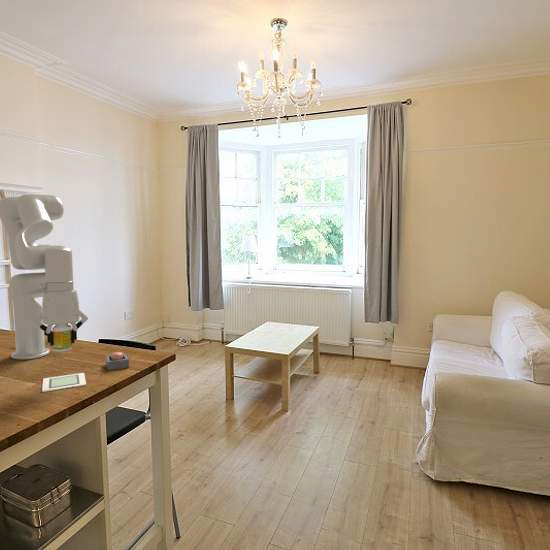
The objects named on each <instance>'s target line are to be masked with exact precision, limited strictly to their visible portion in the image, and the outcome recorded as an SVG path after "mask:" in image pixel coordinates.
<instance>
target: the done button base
mask: <svg viewBox="0 0 550 550" xmlns="http://www.w3.org/2000/svg"><path fill="white" fill-rule="evenodd" d="M105 366H106V368H107V369H106V370H107V371H113V369H115V370H120V369H119V368H122V369H128V368H130V359H129V357H128V355H127V353H123V359H121V360H113V361H111V355H106V356H105Z"/></svg>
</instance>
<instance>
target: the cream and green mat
mask: <svg viewBox="0 0 550 550" xmlns="http://www.w3.org/2000/svg"><path fill="white" fill-rule="evenodd" d="M83 386H84V387H85V386H87V381H86V374H85V372H81V373H80V372H79V373H73V374H67V375H66V374H65V375H58V376H51V377H44V378H43V379H42V388H41V393H46V392H53V391H58V390H59V391H60V390H65V389H66V388H67V389H71V388H72V387H73V388H79V387H83ZM67 389H66V390H67Z"/></svg>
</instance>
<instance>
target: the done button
mask: <svg viewBox="0 0 550 550" xmlns="http://www.w3.org/2000/svg"><path fill="white" fill-rule="evenodd" d="M123 354H124V352H122V351H115V352H112V353H110V356H111V361H113V360H121V359H123Z"/></svg>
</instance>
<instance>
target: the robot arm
mask: <svg viewBox="0 0 550 550" xmlns="http://www.w3.org/2000/svg"><path fill="white" fill-rule="evenodd" d="M64 209H65V208H64V204H63V202H62V200H61V199H60V198H59V197H58V196H56V195H49V194H39V193H38V194H37V193H28V194H26V193H25V194H22V195H20V196H6V197H2V198H1V199H0V221H1V223H2V225H3V227H4V229H5V231H6V234H7V238H8V248H9V249H8V250H9V257H10V262H11V265H12V267H13V269H15V270H20V271H27V270H28V271H34V270H35V271H38V270H44V272H24V273H18V274H15V275H13V276H11V277H10V278H9V281H8V288H9V292H10V297H11V300H12V308H13V323H14V324H13V325H14V337H15V339H14V340H15V341H14V342H15V351H13V352H12V353H11V356H10V357H11V358H12V359H14V360H24V361H25V360H33V359H38V358H41V357H45V356H47V355H49V353H50V351H51V350H50V348H49V347H45V346H46V343H45V333H46V337H47V344H50V345H49V346H50V347H53V335H52V328H53V327H54V326H55V325H56V324H67V323H68V324H70V326H71V328H72V345H73V344H75V342H76V341H77V340H78V335H77V334H78V330H79V328H81V326H83V324H85V323H86V322H87V321H88V320H89V318H88V316H87V315H86V314H84V313H83V311H81V310H80V305H79V304H80V302H79V296H78V293H77V290H75V288H74V271H73V270H74V269H73V268H74V267H73V266H74V265H73V252H72V249H71V248H70V247H66V246H64V245H51V244H37V243H36V241H38V240H40V239H43V238H45V237H48V236H49V235H50V234H51V233H52V231H53V229H54V226H53V222H52V221H54V220H55V221H56V220H60V219H61V218H62V217H63V215H64V211H65V210H64ZM38 298H42V301H41V302H42V303H41V304H40V303H39V302H37V301H36V299H38Z"/></svg>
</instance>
